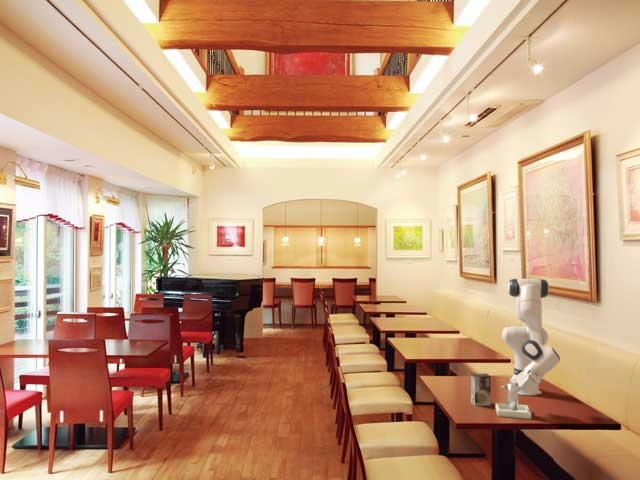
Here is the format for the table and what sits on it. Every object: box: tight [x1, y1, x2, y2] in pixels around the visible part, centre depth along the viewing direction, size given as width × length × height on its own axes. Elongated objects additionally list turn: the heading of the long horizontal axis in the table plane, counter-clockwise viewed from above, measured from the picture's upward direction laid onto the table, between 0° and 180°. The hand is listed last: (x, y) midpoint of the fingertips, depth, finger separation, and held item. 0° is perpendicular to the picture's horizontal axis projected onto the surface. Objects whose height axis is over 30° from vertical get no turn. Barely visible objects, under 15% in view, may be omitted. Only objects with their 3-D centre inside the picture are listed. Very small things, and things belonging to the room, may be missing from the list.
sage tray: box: [494, 402, 532, 420], centre depth 262 cm, size 13×16×3 cm
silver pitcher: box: [500, 382, 519, 411], centre depth 262 cm, size 5×8×13 cm, turn 76°
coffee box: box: [470, 372, 492, 407], centre depth 278 cm, size 9×6×16 cm
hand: (512, 390), depth 262 cm, fingers closed on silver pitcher, 5 cm apart
